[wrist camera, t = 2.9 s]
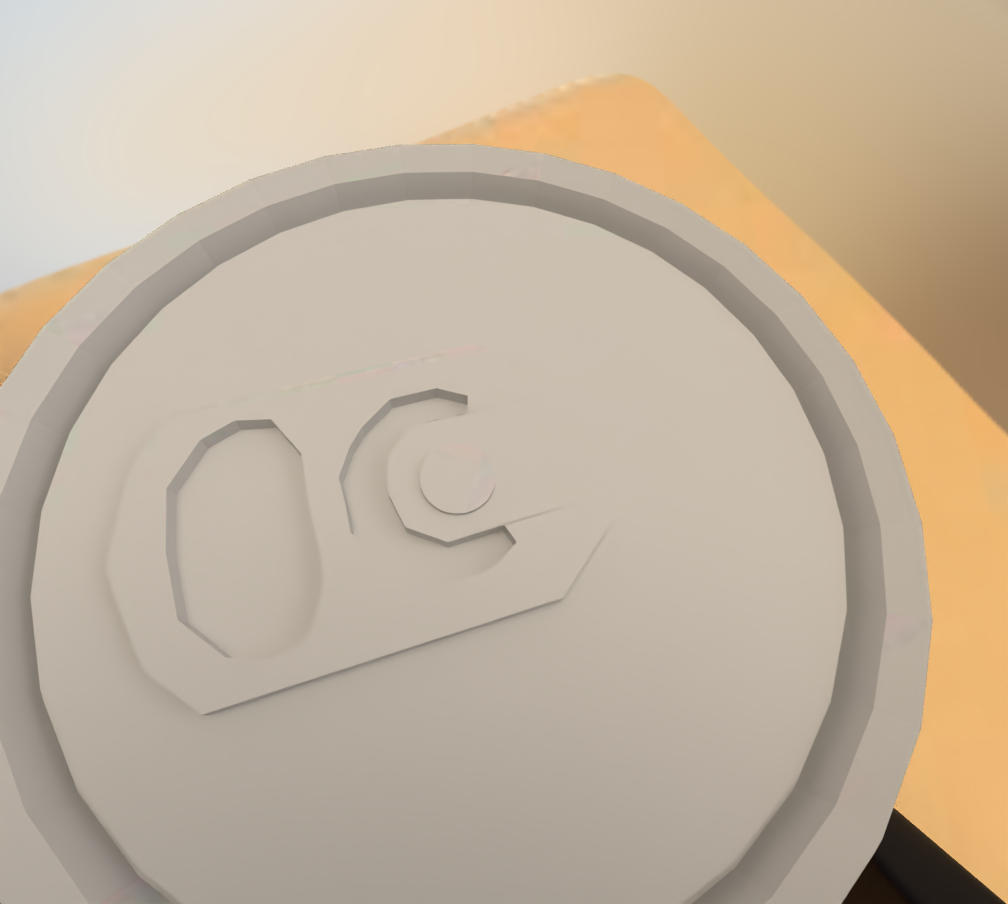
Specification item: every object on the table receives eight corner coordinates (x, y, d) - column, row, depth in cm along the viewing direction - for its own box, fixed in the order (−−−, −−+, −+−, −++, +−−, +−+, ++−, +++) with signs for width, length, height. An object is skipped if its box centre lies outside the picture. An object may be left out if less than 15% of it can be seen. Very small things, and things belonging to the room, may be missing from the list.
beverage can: (327, 655, 16) (-338, 422, 3) (471, 530, 18) (490, 23, 5) (454, 820, 15) (349, 2012, 1) (597, 665, 17) (1165, 502, 3)
